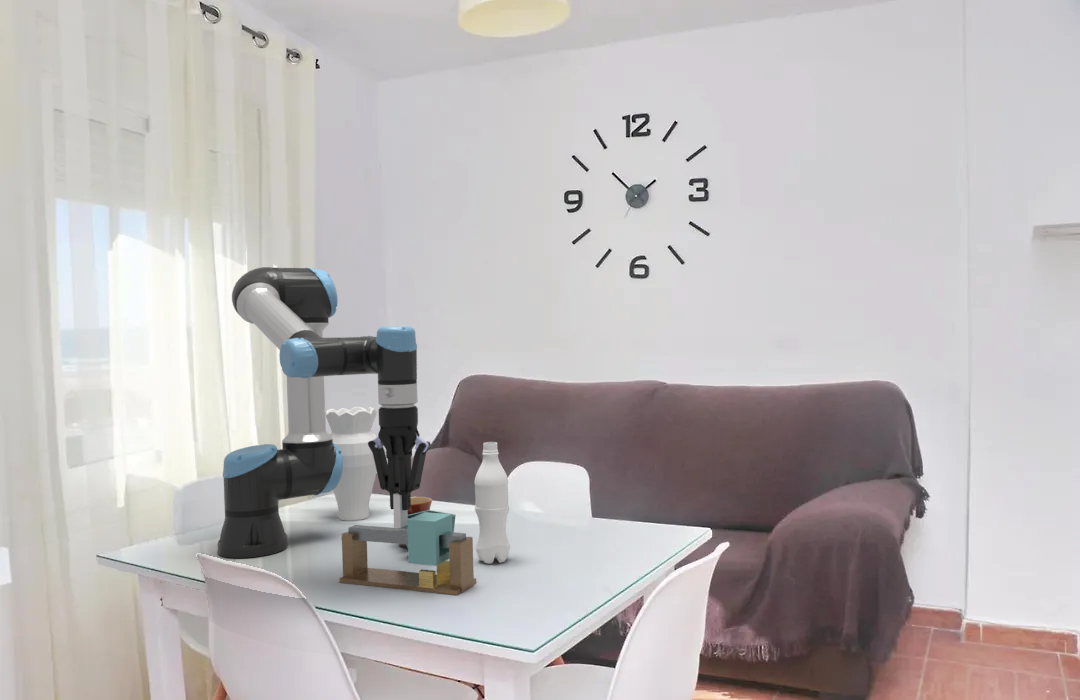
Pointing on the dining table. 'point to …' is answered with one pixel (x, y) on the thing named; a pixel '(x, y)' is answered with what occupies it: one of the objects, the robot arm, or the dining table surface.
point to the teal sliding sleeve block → (428, 538)
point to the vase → (354, 460)
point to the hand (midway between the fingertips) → (400, 526)
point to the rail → (447, 581)
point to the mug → (418, 507)
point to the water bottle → (491, 506)
